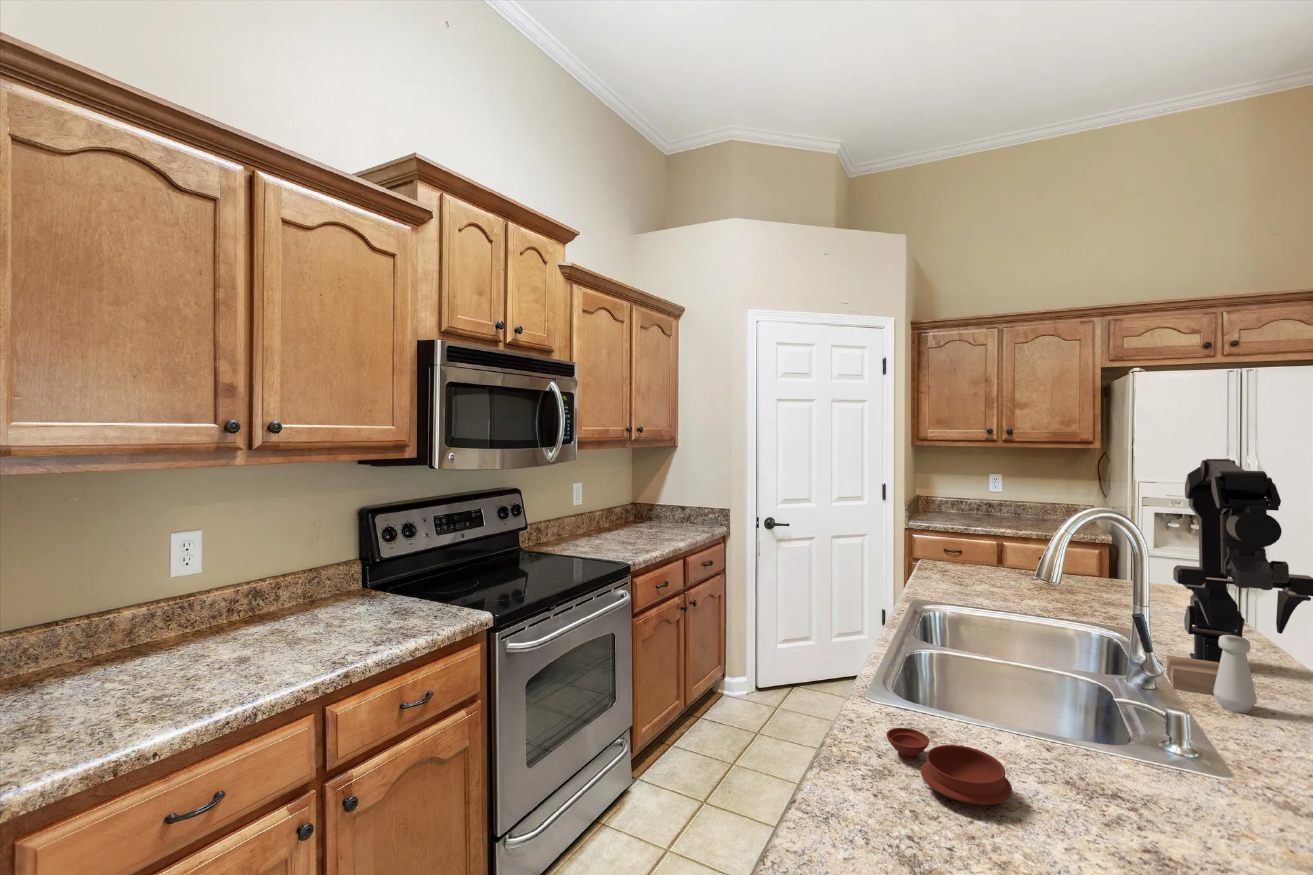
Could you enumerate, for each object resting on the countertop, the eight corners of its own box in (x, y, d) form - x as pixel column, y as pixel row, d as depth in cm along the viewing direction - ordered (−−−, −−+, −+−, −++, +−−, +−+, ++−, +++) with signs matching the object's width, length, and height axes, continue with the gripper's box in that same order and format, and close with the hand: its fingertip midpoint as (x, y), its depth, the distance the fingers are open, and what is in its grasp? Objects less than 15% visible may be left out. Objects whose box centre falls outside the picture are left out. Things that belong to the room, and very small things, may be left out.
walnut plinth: (1166, 674, 128) (1166, 655, 128) (1218, 682, 124) (1218, 662, 124) (1173, 688, 122) (1173, 668, 122) (1228, 697, 117) (1227, 676, 117)
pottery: (969, 827, 82) (969, 794, 82) (864, 754, 100) (864, 727, 100) (1031, 805, 86) (1031, 774, 86) (920, 739, 105) (920, 713, 105)
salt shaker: (1239, 701, 116) (1238, 631, 115) (1266, 715, 110) (1265, 642, 110) (1204, 700, 116) (1204, 631, 116) (1230, 714, 111) (1229, 642, 110)
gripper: (1182, 541, 110) (1183, 630, 109) (1334, 550, 100) (1336, 649, 99) (1172, 535, 119) (1173, 617, 119) (1309, 543, 109) (1311, 633, 109)
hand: (1243, 628), depth 111 cm, fingers open, 9 cm apart
